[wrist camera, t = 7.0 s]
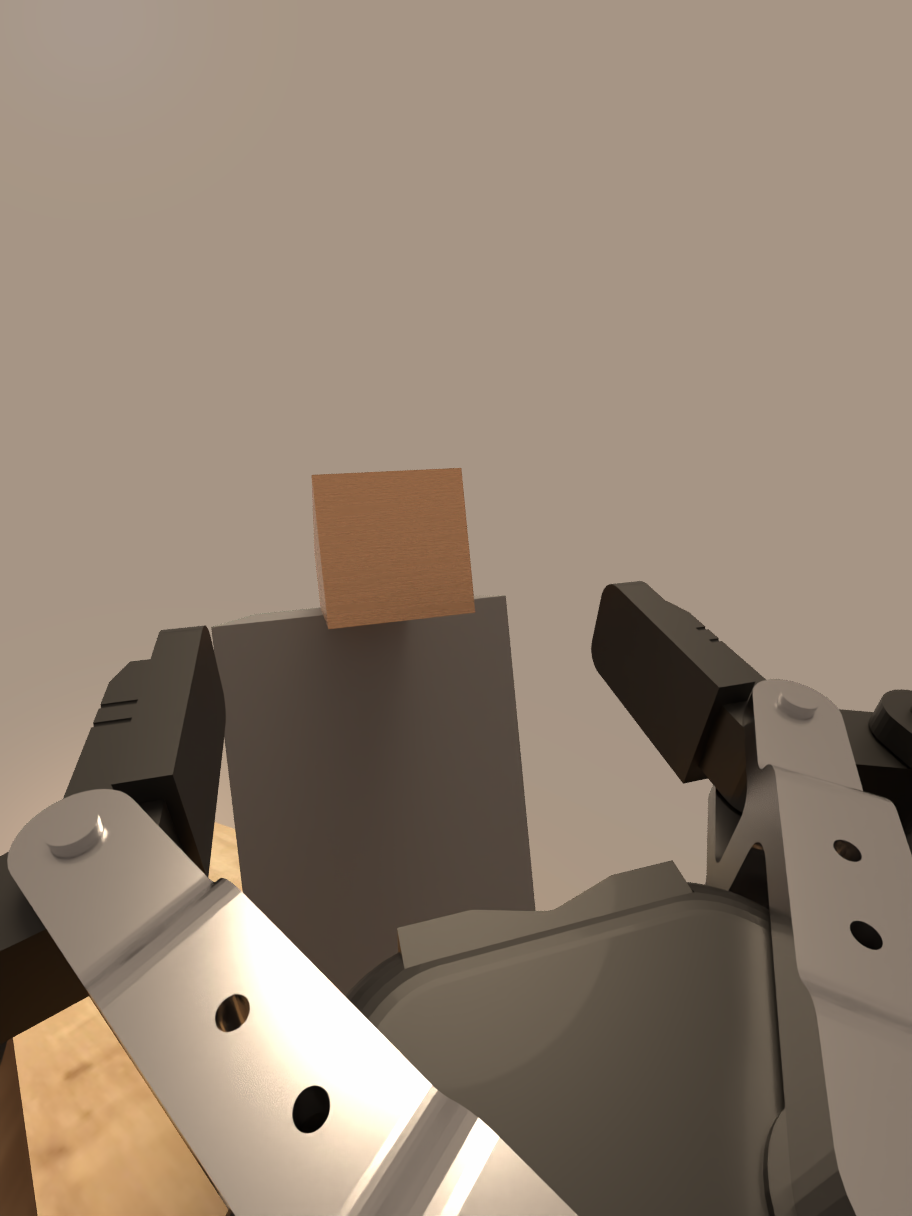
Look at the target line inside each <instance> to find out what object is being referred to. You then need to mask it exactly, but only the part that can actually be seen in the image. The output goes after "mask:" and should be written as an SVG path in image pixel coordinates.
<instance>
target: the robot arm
mask: <svg viewBox="0 0 912 1216" xmlns="http://www.w3.org/2000/svg"><path fill="white" fill-rule="evenodd" d="M591 652H592V659H593V662H594V665H595V668H596V669H597V671H598V673H599V674H600V675H601V677H602V678H603V679H604V680H605V682H606V683H607V684H608V686H609V687H610V688H611V690H612V691H613V692H614V693H615V695H616V696H617V697H618V699H619V700H620V701H621V703H622V704H623V705H624V707H625V708H626V709H627V711H628V712H629V713H630V715H631V716H632V717H633V718H634V720H635V721H636V722H637V724H638V725H639V726H640V727H641V729H642V730H643V731H644V733H645V734H646V735H647V737H648V738H649V739H650V741H651V742H652V743H653V745H654V746H655V747H656V748H657V750H658V751H659V752H660V754H661V755H662V756H663V758H664V759H665V760H666V762H667V763H668V764H669V765H670V767H671V768H672V769H673V771H674V772H675V773H676V775H677V776H678V777H679V779H680V780H681V781H682V782H683V783H688V782H692V781H697V780H702V779H707V778H708V779H709V780H710V781H711V782H712V784H713V787H712V789H711V791H710V794H709V798H708V835H707V875H706V884H705V885H703V884H697V883H691V882H690V883H689V882H686V881H685V879H684V878H683V876H682V875H681V873H680V871H679V870H678V868H677V867H676V865H675V864H674V862H673V861H668V862H664V863H660V864H656V865H651V866H647V867H644V868H639V869H635V870H632V871H627V872H623V873H619V874H615V875H611V876H609V877H608V878H606V879H604V880H603V881H601V882H599V883H598V884H596V885H595V886H593V887H591V888H590V889H588V890H586V891H585V892H583V893H581V894H580V895H578V896H576V897H575V898H573V899H572V900H570V901H568V902H566V903H565V904H563V905H562V906H560V907H558V908H556V909H554V910H550V911H509V910H468V911H464V912H460V913H456V914H452V915H448V916H444V917H440V918H436V919H432V920H428V921H424V922H419V923H415V924H411V925H407V926H403V927H399V928H397V939H398V953H397V954H395V955H393V956H392V957H390V958H388V959H386V960H385V961H383V962H382V963H380V964H379V965H378V966H377V967H375V968H374V969H373V970H371V971H370V972H369V973H367V974H366V975H365V976H364V977H363V978H362V979H361V980H360V981H359V982H358V983H357V984H356V985H355V986H354V987H353V988H352V989H351V990H350V991H349V992H348V993H347V994H346V996H344V995H343V994H342V993H341V992H340V991H339V990H338V989H337V988H336V987H335V986H334V985H333V984H332V983H331V982H330V981H329V980H328V979H327V978H326V977H325V976H324V975H323V974H322V973H321V972H320V971H319V970H318V969H317V968H316V967H315V966H314V965H313V964H312V963H311V962H310V961H309V960H308V959H307V958H306V957H305V956H304V955H303V954H302V953H301V951H300V950H299V949H298V948H297V947H296V946H295V945H294V944H293V943H292V942H291V941H290V940H289V939H288V938H287V937H286V936H285V935H284V934H283V933H282V932H281V931H280V930H279V929H278V928H277V927H276V926H275V925H274V924H273V923H272V922H271V921H270V920H269V919H268V918H267V917H266V916H265V915H264V914H263V913H262V912H261V911H260V910H259V909H258V908H257V907H256V906H255V905H254V904H253V903H252V902H251V901H250V900H249V899H248V898H247V897H246V896H245V895H244V894H243V893H242V892H241V891H240V890H239V889H238V888H237V887H236V886H235V885H234V884H233V883H231V882H230V881H228V880H227V879H224V878H220V879H219V880H217V881H216V882H213V881H211V880H210V879H209V878H208V875H209V866H210V857H211V848H212V839H213V831H214V822H215V812H216V803H217V795H218V787H219V778H220V768H221V760H222V751H223V743H224V734H225V725H226V708H225V699H224V692H223V688H222V684H221V679H220V675H219V671H218V666H217V662H216V658H215V654H214V649H213V646H212V641H211V637H210V634H209V630H208V628H207V627H206V626H197V627H187V628H178V629H168V630H161V631H160V632H159V635H158V638H157V641H156V644H155V647H154V650H153V653H152V657H151V659H149V660H140V661H132V662H129V663H128V664H127V665H126V666H125V667H124V668H123V669H122V670H121V671H120V672H119V673H118V674H117V675H116V676H115V677H114V678H113V679H112V680H111V681H110V682H109V684H108V687H107V690H106V692H105V694H104V697H103V699H102V702H101V708H100V709H99V710H98V712H97V715H96V717H95V720H94V722H93V724H94V727H92V728H91V730H90V732H89V735H88V737H87V740H86V742H85V745H84V747H83V750H82V752H81V755H80V757H79V760H78V762H77V765H76V768H75V770H74V773H73V775H72V778H71V780H70V783H69V785H68V788H67V790H66V793H65V795H64V798H63V799H62V800H60V801H58V802H56V803H54V804H52V805H51V806H49V807H47V808H46V809H44V810H43V811H41V812H40V813H39V814H37V815H36V816H35V817H34V818H32V819H31V820H30V821H29V822H28V823H27V824H26V825H25V826H24V827H23V829H22V830H21V831H20V832H19V834H18V835H17V836H16V838H15V840H14V841H13V843H12V845H11V848H10V850H9V852H7V853H6V854H4V855H2V856H0V1066H1V1062H2V1059H3V1055H4V1052H5V1048H6V1045H7V1041H8V1040H9V1039H11V1038H13V1037H15V1036H16V1035H18V1034H20V1033H22V1032H24V1031H26V1030H27V1029H29V1028H31V1027H33V1026H35V1025H37V1024H38V1023H40V1022H42V1021H44V1020H46V1019H48V1018H49V1017H51V1016H53V1015H55V1014H57V1013H59V1012H60V1011H62V1010H64V1009H66V1008H68V1007H70V1006H71V1005H73V1004H75V1003H77V1002H79V1001H81V1000H82V999H84V998H86V997H88V996H89V997H90V998H91V1000H92V1001H93V1003H94V1004H95V1006H96V1007H97V1009H98V1010H99V1012H100V1014H101V1015H102V1017H103V1018H104V1020H105V1021H106V1023H107V1024H108V1026H109V1027H110V1029H111V1030H112V1032H113V1033H114V1035H115V1036H116V1038H117V1040H118V1041H119V1043H120V1044H121V1046H122V1047H123V1049H124V1050H125V1052H126V1053H127V1055H128V1056H129V1058H130V1059H131V1061H132V1062H133V1064H134V1066H135V1067H136V1069H137V1070H138V1072H139V1073H140V1075H141V1076H142V1078H143V1079H144V1081H145V1082H146V1084H147V1085H148V1087H149V1088H150V1090H151V1092H152V1093H153V1095H154V1096H155V1098H156V1099H157V1101H158V1102H159V1104H160V1105H161V1107H162V1108H163V1110H164V1111H165V1113H166V1115H167V1116H168V1118H169V1119H170V1121H171V1122H172V1124H173V1125H174V1127H175V1128H176V1130H177V1132H178V1133H179V1135H180V1136H181V1138H182V1139H183V1141H184V1142H185V1144H186V1145H187V1147H188V1148H189V1150H190V1152H191V1153H192V1155H193V1156H194V1158H195V1159H196V1161H197V1162H198V1164H199V1165H200V1167H201V1168H202V1170H203V1171H204V1173H205V1174H206V1176H207V1178H208V1179H209V1181H210V1182H211V1184H212V1185H213V1187H214V1188H215V1190H216V1191H217V1193H218V1194H219V1196H220V1197H221V1199H222V1200H223V1202H224V1204H225V1205H226V1207H227V1208H228V1212H227V1214H226V1216H912V691H910V690H892V691H889V692H887V693H885V694H884V695H883V697H882V698H881V700H880V702H879V704H878V705H877V707H876V709H875V711H874V712H862V711H852V710H840V709H838V708H837V706H836V705H835V704H834V703H833V702H832V701H831V700H829V699H828V698H827V697H825V696H824V695H823V694H821V693H819V692H818V691H816V690H814V689H812V688H810V687H808V686H805V685H802V684H800V683H796V682H793V681H788V680H780V679H769V680H766V679H765V678H763V677H762V676H761V675H760V674H759V673H758V672H757V671H756V670H754V669H753V668H752V667H751V666H750V665H749V664H748V663H746V662H745V661H744V660H743V659H742V658H740V657H739V656H738V655H737V654H736V653H735V652H734V651H733V650H731V649H730V648H729V647H728V646H727V645H726V644H725V643H723V642H722V641H719V640H718V637H717V636H715V635H714V634H713V633H712V632H711V631H710V630H706V629H705V626H704V625H703V624H702V623H701V622H699V621H698V620H697V619H696V618H695V617H694V616H692V615H691V614H690V613H689V612H687V611H685V610H683V609H681V608H679V607H678V606H676V605H673V604H672V603H670V602H667V601H665V600H664V599H663V598H662V597H661V596H660V595H658V594H657V593H656V592H655V591H654V590H653V589H652V588H651V587H650V586H649V585H647V584H646V583H645V582H642V581H637V582H628V583H618V584H610V585H607V586H606V588H605V589H604V590H603V593H602V596H601V601H600V606H599V611H598V615H597V620H596V625H595V630H594V635H593V639H592V647H591Z"/></svg>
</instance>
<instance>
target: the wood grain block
mask: <svg viewBox="0 0 912 1216" xmlns="http://www.w3.org/2000/svg"><path fill="white" fill-rule="evenodd" d="M0 1216H37V1208H36V1201H35V1194H34V1187H33V1180H32V1173H31V1165H30V1158H29V1151H28V1144H27V1137H26V1130H25V1122H24V1115H23V1108H22V1101H21V1094H20V1087H19V1080H18V1072H17V1065H16V1058H15V1051H14V1044H13V1038H11V1039H9V1040H8V1041H7V1045H6V1048H5V1052H4V1055H3V1059H2V1062H1V1066H0Z"/></svg>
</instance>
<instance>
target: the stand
mask: <svg viewBox="0 0 912 1216" xmlns="http://www.w3.org/2000/svg"><path fill="white" fill-rule="evenodd" d="M474 605H475V613H468V614H459V615H450V616H441V617H433V618H424V619H415V620H406V621H397V622H388V623H380V624H371V625H362V626H353V627H344V628H335V629H328V627H327V624H326V621H325V619H324V616H323V613H322V610H321V608H312V609H302V610H292V611H283V612H274V613H264V614H255V615H251V616H248V617H245V618H241V619H238V620H234V621H231V622H227V623H224V624H220V625H217V626H213V627H212V637H213V645H214V653H215V658H216V662H217V666H218V671H219V675H220V679H221V684H222V688H223V692H224V699H225V708H226V725H225V734H224V738H225V746H226V754H227V763H228V771H229V780H230V788H231V796H232V805H233V813H234V822H235V830H236V839H237V847H238V855H239V864H240V872H241V881H242V889H243V894H244V895H245V896H246V897H247V898H248V899H249V900H250V901H251V902H252V903H253V904H254V905H255V906H256V907H257V908H258V909H259V910H260V911H261V912H262V913H263V914H264V915H265V916H266V917H267V918H268V919H269V920H270V921H271V922H272V923H273V924H274V925H275V926H276V927H277V928H278V929H279V930H280V931H281V932H282V933H283V934H284V935H285V936H286V937H287V938H288V939H289V940H290V941H291V942H292V943H293V944H294V945H295V946H296V947H297V948H298V949H299V950H300V951H301V953H302V954H303V955H304V956H305V957H306V958H307V959H308V960H309V961H310V962H311V963H312V964H313V965H314V966H315V967H316V968H317V969H318V970H319V971H320V972H321V973H322V974H323V975H324V976H325V977H326V978H327V979H328V980H329V981H330V982H331V983H332V984H333V985H334V986H335V987H336V988H337V989H338V990H339V991H340V992H341V993H342V994H343V995H344V996H346V994H347V993H348V992H349V991H350V990H351V989H352V988H353V987H354V986H355V985H356V984H357V983H358V982H359V981H360V980H361V979H362V978H363V977H364V976H365V975H366V974H367V973H369V972H370V971H371V970H373V969H374V968H375V967H377V966H378V965H379V964H380V963H382V962H383V961H385V960H386V959H388V958H390V957H392V956H393V955H395V954H397V953H398V939H397V928H399V927H403V926H407V925H411V924H415V923H419V922H424V921H428V920H432V919H436V918H440V917H444V916H448V915H452V914H456V913H460V912H464V911H468V910H509V911H535V902H534V891H533V882H532V881H533V880H532V871H531V860H530V849H529V838H528V827H527V817H526V806H525V796H524V786H523V774H522V764H521V753H520V743H519V732H518V722H517V711H516V701H515V690H514V680H513V669H512V659H511V648H510V637H509V626H508V616H507V605H506V596H474Z"/></svg>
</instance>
